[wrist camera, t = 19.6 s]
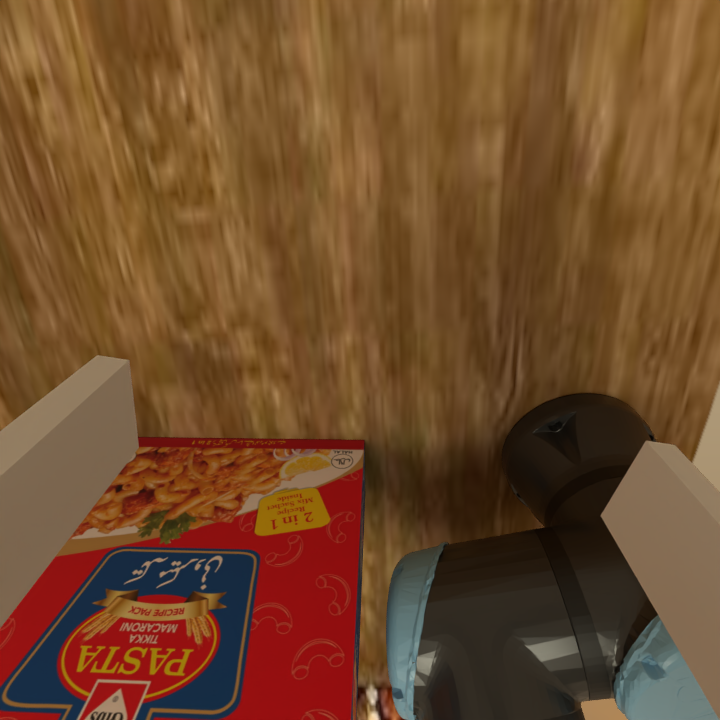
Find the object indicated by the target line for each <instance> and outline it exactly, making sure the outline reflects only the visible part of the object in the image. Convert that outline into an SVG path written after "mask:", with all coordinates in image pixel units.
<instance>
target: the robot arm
mask: <svg viewBox="0 0 720 720" xmlns="http://www.w3.org/2000/svg"><path fill="white" fill-rule="evenodd" d="M138 448H139V443H138V435H137V426H136V417H135V408H134V399H133V390H132V382H131V373H130V364H129V360H125V359H118V358H112V357H105V356H99V355H97V356H96V357H94V358H93V359H92V360H91V361H89V362H88V363H87V364H86V365H84V366H83V367H82V368H80V369H79V370H78V371H77V372H75V373H74V374H73V375H71V376H70V377H69V378H68V379H66V380H65V381H64V382H63V383H61V384H60V385H59V386H57V387H56V388H55V389H54V390H52V391H51V392H50V393H48V394H47V395H46V396H45V397H43V398H42V399H41V400H40V401H38V402H37V403H36V404H34V405H33V406H32V407H31V408H29V409H28V410H27V411H26V412H24V413H23V414H22V415H20V416H19V417H18V418H17V419H15V420H14V421H13V422H11V423H10V424H9V425H8V426H6V427H5V428H4V429H3V430H1V431H0V628H1V627H2V625H3V624H4V623H5V622H6V620H7V619H8V618H9V616H10V615H11V614H12V612H13V611H14V610H15V609H16V607H17V606H18V605H19V603H20V602H21V601H22V599H23V598H24V597H25V595H26V594H27V593H28V592H29V590H30V589H31V588H32V586H33V585H34V584H35V582H36V581H37V580H38V579H39V577H40V576H41V575H42V573H43V572H44V571H45V569H46V568H47V567H48V565H49V564H50V563H51V562H52V560H53V559H54V558H55V556H56V555H57V554H58V552H59V551H60V550H61V549H62V547H63V546H64V545H65V543H66V542H67V541H68V539H69V538H70V537H71V535H72V534H73V533H74V532H75V530H76V529H77V528H78V526H79V525H80V524H81V522H82V521H83V520H84V519H85V517H86V516H87V515H88V513H89V512H90V511H91V509H92V508H93V507H94V506H95V504H96V503H97V502H98V500H99V499H100V498H101V496H102V495H103V494H104V492H105V491H106V490H107V489H108V487H109V486H110V485H111V483H112V482H113V481H114V479H115V478H116V477H117V476H118V474H119V473H120V472H121V470H122V469H123V468H124V466H125V465H126V464H127V462H128V461H129V460H130V459H131V457H132V456H133V455H134V453H135V452H136V451H137V449H138ZM502 465H503V469H504V472H505V475H506V478H507V480H508V483H509V485H510V487H511V489H512V491H513V492H514V494H515V495H516V496H517V498H518V499H519V500H520V501H521V502H522V503H523V504H525V505H526V506H527V507H529V508H530V510H531V511H532V513H533V514H534V515H535V517H536V518H537V519H538V520H539V521H540V522H541V523H542V525H543V526H544V527H545V528H540V529H532V530H527V531H521V532H516V533H511V534H505V535H500V536H495V537H490V538H484V539H478V540H472V541H466V542H460V543H454V544H449V543H448V542H444V543H441V544H440V545H439V546H437V547H432V548H428V549H424V550H420V551H416V552H412V553H409V554H407V555H405V556H404V557H403V558H401V560H400V561H399V562H398V563H397V565H396V567H395V569H394V572H393V575H392V578H391V583H390V587H389V594H388V603H387V621H386V643H387V663H388V673H389V679H390V683H391V685H392V694H393V700H394V704H395V708H396V710H397V712H398V713H399V714H400V716H401V717H402V718H403V719H407V720H585V718H584V715H583V712H582V708H581V702H582V701H590V700H599V699H609V698H614V699H615V702H616V704H617V706H618V709H619V710H620V711H621V712H622V713H623V714H625V716H626V717H627V719H628V720H720V492H719V491H718V490H717V489H716V488H715V487H714V486H713V485H712V484H711V483H710V482H709V481H708V479H707V478H706V477H705V476H704V475H703V474H702V473H701V472H700V471H699V470H698V469H697V468H696V467H695V466H694V465H693V464H692V463H691V462H690V461H689V459H688V458H687V457H686V456H685V455H684V454H683V453H682V452H681V451H680V450H679V449H678V448H677V447H676V446H675V445H672V444H665V443H659V442H656V440H655V437H654V435H653V433H652V431H651V429H650V428H649V426H648V425H647V424H646V422H645V421H644V420H643V419H642V418H641V417H640V416H639V415H638V414H637V413H636V412H635V411H634V410H633V409H632V408H631V407H630V406H629V405H627V404H626V403H624V402H622V401H620V400H618V399H615V398H612V397H609V396H604V395H598V394H577V395H570V396H566V397H561V398H558V399H555V400H552V401H550V402H547V403H545V404H543V405H541V406H539V407H538V408H536V409H534V410H533V411H531V412H530V413H528V414H527V415H526V416H525V417H523V418H522V419H521V420H520V421H519V422H518V423H517V424H516V425H515V427H514V428H513V429H512V431H511V432H510V434H509V435H508V437H507V439H506V441H505V444H504V447H503V452H502Z"/></svg>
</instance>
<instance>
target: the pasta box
mask: <svg viewBox="0 0 720 720" xmlns="http://www.w3.org/2000/svg"><path fill="white" fill-rule="evenodd" d="M138 443H139V448H138V449H137V451H136V452H135V453H134V455H133V456H132V457H131V459H130V460H129V461H128V462H127V464H126V465H125V466H124V468H123V469H122V470H121V472H120V473H119V474H118V476H117V477H116V478H115V479H114V481H113V482H112V483H111V485H110V486H109V487H108V489H107V490H106V491H105V492H104V494H103V495H102V496H101V498H100V499H99V500H98V502H97V503H96V504H95V506H94V507H93V508H92V509H91V511H90V512H89V513H88V515H87V516H86V517H85V519H84V520H83V521H82V522H81V524H80V525H79V526H78V528H77V529H76V530H75V532H74V533H73V534H72V535H71V537H70V538H69V539H68V541H67V542H66V543H65V545H64V546H63V547H62V549H61V550H60V551H59V552H58V554H57V555H56V556H55V558H54V559H53V560H52V562H51V563H50V564H49V565H48V567H47V568H46V569H45V571H44V572H43V573H42V575H41V576H40V577H39V579H38V580H37V581H36V582H35V584H34V585H33V586H32V588H31V589H30V590H29V592H28V593H27V594H26V595H25V597H24V598H23V599H22V601H21V602H20V603H19V605H18V606H17V607H16V609H15V610H14V611H13V612H12V614H11V615H10V616H9V618H8V619H7V620H6V622H5V623H4V624H3V625H2V627H1V628H0V720H356V714H357V689H358V663H359V638H360V612H361V586H362V561H363V535H364V509H365V448H364V440H332V439H250V438H168V437H138Z"/></svg>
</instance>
